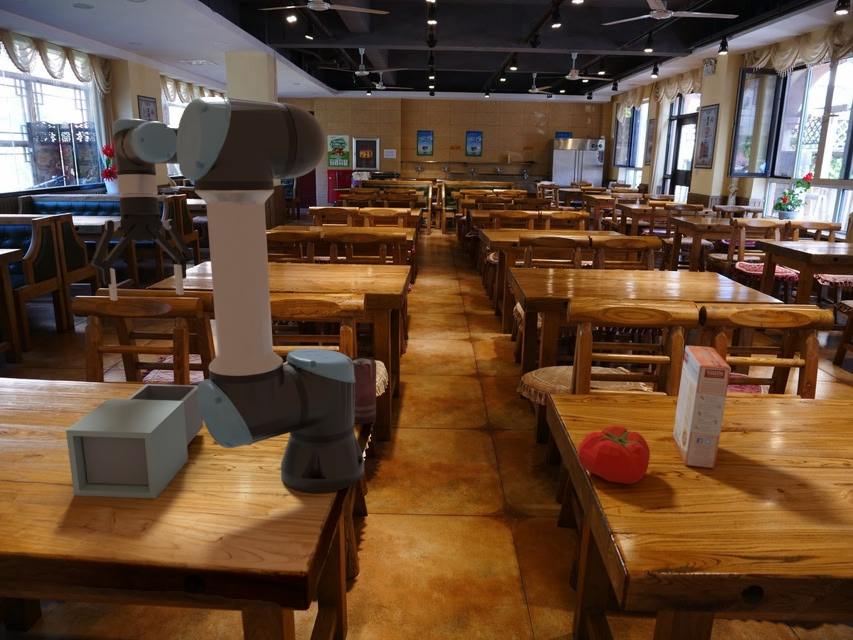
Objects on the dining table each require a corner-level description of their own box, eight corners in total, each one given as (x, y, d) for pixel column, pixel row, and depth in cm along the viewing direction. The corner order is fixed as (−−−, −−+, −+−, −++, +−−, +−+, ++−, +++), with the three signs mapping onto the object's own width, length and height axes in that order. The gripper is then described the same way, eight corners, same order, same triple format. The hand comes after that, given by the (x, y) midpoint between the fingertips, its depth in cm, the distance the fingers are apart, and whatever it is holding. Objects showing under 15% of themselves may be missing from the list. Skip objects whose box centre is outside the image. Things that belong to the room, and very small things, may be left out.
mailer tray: (149, 425, 132) (146, 383, 130) (203, 427, 132) (200, 385, 130) (87, 482, 109) (82, 433, 107) (152, 485, 109) (147, 435, 107)
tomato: (599, 499, 111) (604, 453, 109) (565, 465, 123) (569, 423, 120) (667, 490, 115) (673, 445, 112) (628, 458, 126) (633, 417, 124)
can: (363, 428, 137) (363, 366, 133) (342, 420, 141) (342, 360, 137) (382, 419, 142) (382, 359, 138) (361, 412, 145) (361, 353, 142)
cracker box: (716, 470, 122) (732, 367, 117) (683, 466, 123) (698, 364, 118) (701, 439, 136) (715, 346, 130) (671, 436, 137) (684, 343, 131)
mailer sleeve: (115, 457, 121) (108, 398, 118) (188, 459, 121) (183, 400, 118) (74, 495, 107) (65, 430, 104) (156, 498, 107) (150, 432, 104)
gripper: (191, 197, 144) (198, 290, 147) (68, 197, 128) (79, 301, 131) (204, 196, 138) (211, 292, 142) (76, 195, 122) (88, 304, 126)
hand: (148, 297), depth 136 cm, fingers open, 13 cm apart
